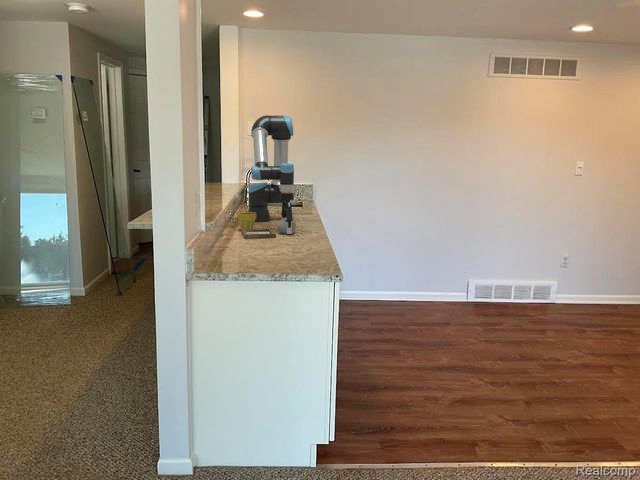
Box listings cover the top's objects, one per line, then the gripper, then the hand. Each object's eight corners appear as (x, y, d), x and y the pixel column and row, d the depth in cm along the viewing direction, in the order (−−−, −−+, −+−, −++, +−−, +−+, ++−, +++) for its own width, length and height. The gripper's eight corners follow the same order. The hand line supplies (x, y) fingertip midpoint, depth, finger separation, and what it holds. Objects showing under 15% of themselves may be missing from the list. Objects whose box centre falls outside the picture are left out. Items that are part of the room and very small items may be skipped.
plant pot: (258, 229, 294) (258, 212, 292) (254, 232, 284) (254, 214, 282) (240, 228, 295) (240, 211, 293) (235, 231, 285) (235, 214, 283)
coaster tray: (241, 233, 280) (241, 229, 280) (271, 232, 284) (271, 228, 284) (244, 239, 265) (244, 234, 264) (275, 238, 269) (275, 233, 268)
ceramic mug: (292, 235, 277) (292, 221, 276) (277, 234, 279) (277, 220, 278) (297, 232, 287) (298, 218, 286) (283, 231, 289) (283, 217, 288)
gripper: (276, 190, 289) (276, 227, 293) (284, 194, 265) (284, 235, 269) (289, 190, 291) (289, 227, 295) (298, 194, 267) (298, 235, 271)
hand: (286, 231), depth 282 cm, fingers open, 13 cm apart
